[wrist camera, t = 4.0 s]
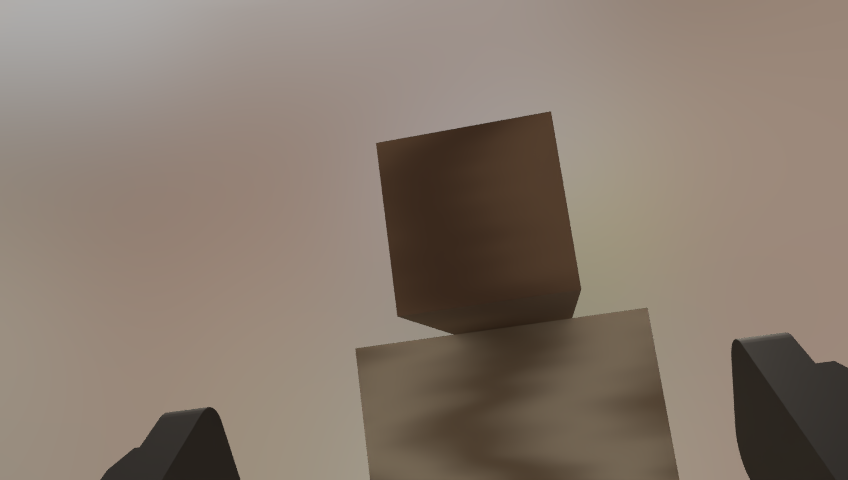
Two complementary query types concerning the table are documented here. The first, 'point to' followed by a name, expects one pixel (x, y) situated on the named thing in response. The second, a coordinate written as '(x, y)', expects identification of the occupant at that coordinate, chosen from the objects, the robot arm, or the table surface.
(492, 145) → the bar
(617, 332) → the wooden block
